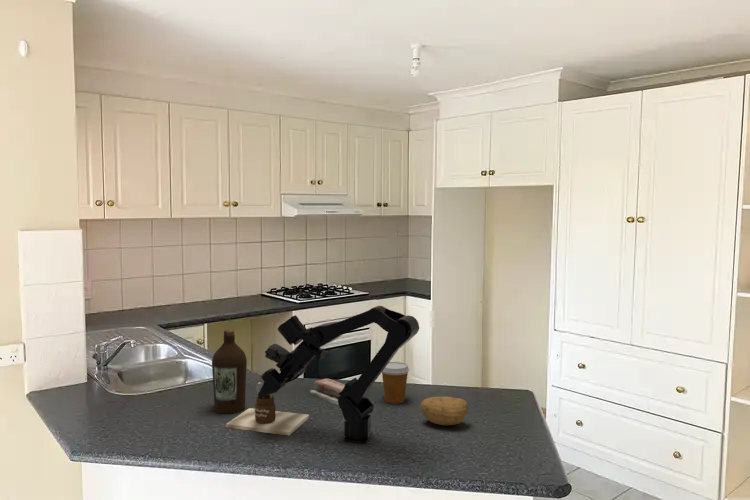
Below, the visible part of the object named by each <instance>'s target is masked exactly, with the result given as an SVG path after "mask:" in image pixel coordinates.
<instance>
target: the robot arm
mask: <svg viewBox="0 0 750 500" xmlns="http://www.w3.org/2000/svg"><path fill="white" fill-rule="evenodd" d="M371 324H376V325H378V326H379V327H380V328H381V329H382V330H383V331H385V332H386V333H387V334H386V337H385V341H384V343H383V344H382V346H381V347H380V348H379V350H378V351H377V352H376V354H375V355H374V357H373V358H372V359H371V360H370V362H369V363H368V365H367V366H366V368H365V369H364V370H363V372H362V373H361V375H360V376H359V377H358V378H357V377H356V376H355V377H354V378H352V379H351V380H349V381H348V382H346V383H345V384H344V385H345V386H344V388H343V390H342V391H341V392H340V393H338V394H339V395H340V396H339V398H338V404H339V406H338V407H339V408H340V410H341V413H342V416H343V419H344V420H345V421H344V422H343V423H344V429H343V430H344V433H343V435H344V438H343V440H344V441H345V442H353V443H361V444H362V443H363V444H367V443H368V441H370V439H371V438H372V437H373V432H372V430H371V429H372V415H371V414H372V413H373V411H374V408H375V405H374V403H373V402H372V401H371V400H370V399H369V398H368V397H369V396H370V393H371V390H372V389H371V388H372V386H373V385H374V383H375V382H376V380H377V379H378V378H379V376H380V375H382V371H383V370H384V368H385V367H386V366H387V364H388V363H389V362H391V360H392V359H393V358H394V356H395V355H396V354H397V352H398V351H399V350H400V349H401V348H402V347H403V346H404V345H405V344H407V343H408V342H409V341H411V339H413V338H414V337H415V335H417V334H418V332H419V331H420V325H419V324H420V323H419V321H418V320H417V318H415V317H414V316H413V315H405V314H403V313H401V312H398V311H395V310H392V309H388V308H387V307H385V306H384V305H377V306H374V307H372V308H370V309H369V310H367V311H364V312H361V313H358V314H356V315H353V316H350V317H348V318H345V319H343V320H339V321H332V322H324V323H322V324H319V325H317V326H314V327H309V328H307V327H306V326H305V325H304V324H303V323H302V322H301V321H300V319H299V317H298V316H297V315H292V316H291V317H290V318H288V319H287V320H285V321H284V322H283V323H281V324H280V325H279V326H278V327H277V331H278V333H279V334H280V335H281V336H282V338H283V339H284V340H285V341H286V342H287V343H288V345H290V346H292V345H294V346H296V347H295V348H294V349H293V350H291V351H289V350H288V349H286V348H284V347H283V346H281V345H280V344H277V343H273V344H271V345H269V346H268V347H267V348H266V350H265V351H264V353H265V358H266V359H268V360H270V361H273V362H274V363H276V364H275V366H276V367H277V369H279V371H278V370H277V369H276V368H268V369H267V370H266V371H264V372H263V374H261V375H260V376H261V379H262V380H263V383H262V385H261V387H260V389H259V392H257V397H258V396H259V397H260V398H261V397H264V396H266V395H271V394H272V395H273V394H276V393H278V392H279V391H281V390H282V389H284V387H285V386H286V385H287V384H288V383H291V382H293V381H295V380H297V379H298V378H299V377H301V376H302V375H304V373H305V372H306V367H307V366H309V364H310V362H311V361H312V360H314V359H315V357H316V358H317V360H322V359H324V358H325V357H326V352H325V350H326V349H325V348H323V347H324V346H325V345H328V344H330V343H332V342H334V341H335V340H337V339H339V338H340V337H342V336H343V335H345V334H347V333H350V332H352V331H355V330H358V329H361V328H362V327H363V328H364V327H366V326H368V325H371ZM321 347H322V348H321ZM279 372H280V373H279Z"/></svg>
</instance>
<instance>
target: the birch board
mask: <svg viewBox="0 0 750 500" xmlns="http://www.w3.org/2000/svg"><path fill="white" fill-rule="evenodd" d="M309 418H310V414H304V413H298V412H297V413H296V412H288V411H279V410H277V411H276V416H275V420H274V421H273V422H271V423H265V424H262V423H258V422H256V420H255V407H253V408H252V407H251V408H250V407H249V408H248V409H245V410H243V412H242V413H240V414H238V415H237V416H236V417H235V418H233V419H231V420H230V421H228V422H227V423H225V428H227V429H235V430H243V431H250V430H251V431H252V432H257V433H258V432H260V433H268V434H274V435H281V436H282V435H283V436H291V434H293V433H294V432H295V431H296V430H297V429H298V428H300V427H301V426H302V425H304V423H305V422H306V421H307V420H309Z"/></svg>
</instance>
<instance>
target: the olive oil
mask: <svg viewBox="0 0 750 500" xmlns="http://www.w3.org/2000/svg"><path fill="white" fill-rule="evenodd" d="M235 335H236V334H235V330H234V329H226V330H223V343H222V344H221V346H220V347H219V348H218V349H217V350H216V351H215V353H213V356H212V360H211V369H212V384H213V385H212V386H213V402H214V405H213V406H214V411H215V412H216V413H219V414H222V415H223V414H225V415H226V414H227V415H228V414H229V415H230V414H237V413H240V412H242V411H245V410H246V385H247V365H248V364H247V362H248V359H247V356H246V353H245V351H244V350H243V349H242V348H241V347H240V346H239V345H238V344H237V343H236V342H235V341H236V340H235V338H236V337H235ZM244 409H245V410H244Z"/></svg>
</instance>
